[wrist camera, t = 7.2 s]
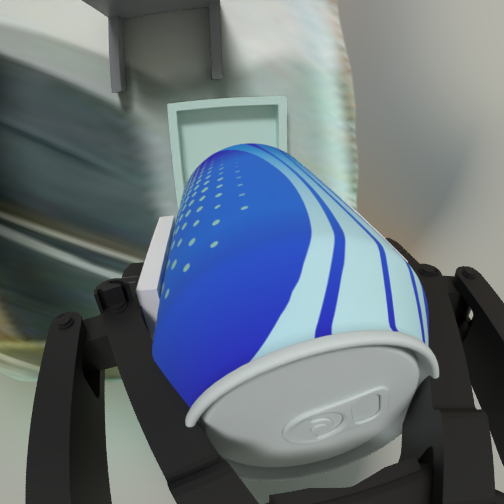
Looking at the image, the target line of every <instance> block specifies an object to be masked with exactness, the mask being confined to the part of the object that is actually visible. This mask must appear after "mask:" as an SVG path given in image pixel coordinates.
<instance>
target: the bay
mask: <svg viewBox="0 0 504 504" xmlns="http://www.w3.org/2000/svg"><path fill="white" fill-rule="evenodd" d="M82 1H84V2H86V3H87V4H89V5H90V6H92V7H93V8H95V9H96V10H98V11H99V12H101V13H102V14H104V15H105V16H107V17H108V22H109V57H110V74H111V88H112V93H117V92H123V91H126V79H125V62H124V39H123V19H127V18H132V17H137V16H143V15H148V14H155V13H161V12H168V11H176V10H185V9H195V8H207V7H209V20H210V46H211V68H212V80H215V79H222V78H223V73H222V51H221V26H220V0H82Z"/></svg>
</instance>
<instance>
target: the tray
mask: <svg viewBox="0 0 504 504" xmlns="http://www.w3.org/2000/svg"><path fill="white" fill-rule="evenodd" d="M167 108H168V120H169V132H170V142H171V152H172V161H173V171H174V179H175V188H176V196H177V204H178V211H179V207H180V203H181V199H182V195H183V191H184V189H185V186H186V184H187V182H188V180H189V178H190V176H191V175H192V173H193V172H194V171H195V170H196V168H197V167H198V166H199V165H200V164H201V163H202V162H203V161H204V160H206V159H207V158H208V157H210V156H211V155H213V154H214V153H216V152H218V151H220V150H222V149H224V148H227V147H230V146H234V145H239V144H247V143H256V144H264V145H269V146H272V147H275V148H278V149H280V150H282V151H284V152H286V153H287V99H286V96H256V97H233V98H218V99H205V100H194V101H185V102H176V103H169V104H167Z"/></svg>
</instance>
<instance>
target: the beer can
mask: <svg viewBox="0 0 504 504" xmlns="http://www.w3.org/2000/svg"><path fill="white" fill-rule="evenodd" d="M152 356H153V359H154V361H155V362H156V364H157V365H158V367H159V368H160V369H161V371H162V372H163V374H164V375H165V376H166V378H167V379H168V380H169V382H170V383H171V384H172V386H173V387H174V388H175V390H176V391H177V392H178V393H179V395H180V396H181V397H182V398H183V400H184V401H185V402H186V403H187V405H188V406H189V408H190V410H189V412H188V413H187V416H186V419H185V424H186V426H187V427H194V426H195V424H196V422H197V421H198V422H199V424H200V426H201V427H202V429H203V430H204V432H205V433H206V435H207V437H208V438H209V440H210V441H211V443H212V444H213V446H214V447H215V449H216V450H217V452H218V453H219V455H220V456H221V457H222V458H223V459H225V460H226V461H227V462H228V463H229V464H230V466H231V467H232V468H233V470H234V471H235V472H236V474H237V475H238V476H239V478H240V479H245V480H255V481H280V480H290V479H298V478H304V477H309V476H314V475H318V474H322V473H325V472H329V471H332V470H335V469H338V468H341V467H343V466H346V465H348V464H351V463H353V462H356V461H358V460H360V459H362V458H364V457H366V456H368V455H370V454H372V453H374V452H375V451H377V450H379V449H380V448H382V447H384V446H385V445H386V444H388V443H390V442H391V441H392V440H394V439H395V438H396V437H398V436H399V435H400V434H402V425H403V422H404V419H405V416H406V413H407V410H408V408H409V405H410V403H411V400H412V398H413V396H414V394H415V392H416V390H417V388H418V387H419V385H420V384H421V382H422V381H423V380H424V379H425V378H426V377H427V376H429V375H430V376H431V377H433V378H435V379H436V378H438V377H439V367H438V362H437V359H436V357H435V355H434V354H433V352H432V351H431V349H430V348H429V312H428V303H427V299H426V295H425V292H424V289H423V286H422V284H421V282H420V280H419V278H418V277H417V275H416V273H415V272H414V270H413V269H412V267H411V266H410V265H409V264H408V263H407V262H406V260H405V259H404V258H403V257H402V256H401V255H400V254H399V253H398V252H397V251H396V250H395V249H394V248H393V247H392V246H391V245H390V244H389V243H388V242H387V241H386V240H385V239H384V238H383V237H382V236H381V235H380V234H379V233H377V232H376V231H375V230H374V229H373V228H372V227H371V226H370V225H369V224H368V223H367V222H366V221H365V220H364V219H363V218H362V217H361V216H360V215H358V214H357V213H356V212H355V211H354V210H353V209H352V208H351V207H350V206H349V205H348V204H347V203H345V202H344V201H343V200H342V199H341V198H340V197H339V196H338V195H337V194H335V193H334V192H333V191H332V190H331V189H330V188H329V187H327V186H326V185H325V184H324V183H323V182H322V181H321V180H319V179H318V178H317V177H316V176H315V175H314V174H312V173H311V172H310V171H309V170H308V169H307V168H305V167H304V166H303V165H302V164H301V163H299V162H298V161H297V160H296V159H295V158H293V157H292V156H290V155H289V154H287V153H286V152H284V151H282V150H280V149H278V148H275V147H272V146H269V145H264V144H256V143H247V144H239V145H234V146H230V147H227V148H224V149H222V150H220V151H218V152H216V153H214V154H213V155H211V156H210V157H208V158H207V159H206V160H204V161H203V162H202V163H201V164H200V165H199V166H198V167H197V168H196V170H195V171H194V172H193V173H192V175H191V176H190V178H189V180H188V182H187V184H186V186H185V189H184V191H183V195H182V199H181V203H180V207H179V211H178V216H177V220H176V224H175V229H174V233H173V238H172V242H171V247H170V251H169V256H168V261H167V266H166V271H165V276H164V281H163V286H162V291H161V297H160V302H159V308H158V313H157V319H156V325H155V331H154V337H153V344H152Z"/></svg>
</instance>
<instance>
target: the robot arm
mask: <svg viewBox="0 0 504 504" xmlns="http://www.w3.org/2000/svg"><path fill="white" fill-rule="evenodd" d="M345 203H347V202H345ZM347 204H348V203H347ZM348 205H349V204H348ZM349 206H350V205H349ZM350 207H351V206H350ZM351 208H352V207H351ZM352 209H353V208H352ZM353 210H354V209H353ZM354 211H355V210H354ZM355 212H356V213H357V214H358V215H360V214H359V213H358V212H357V211H355ZM360 216H361V215H360ZM361 217H362V216H361ZM362 218H363V217H362ZM363 219H364V218H363ZM364 220H365V219H364ZM365 221H366V220H365ZM366 222H367V221H366ZM367 223H368V222H367ZM368 224H369V223H368ZM369 225H370V224H369ZM370 226H371V225H370ZM371 227H372V228H373V229H374V230H375V231H376V232H377V233H379V232H378V231H377V230H376V229H375V228H374V227H373V226H371ZM174 229H175V218H174V216H166V217H160V218H159V221H158V224H157V227H156V230H155V232H154V235H153V238H152V241H151V244H150V247H149V250H148V253H147V256H146V259H145V262H142V263H132V264H130V265H129V266H128V267H127V268H126V269H125V271H124V273H123V276H122V278H115V279H110V280H107V281H105V282H102V283H101V284H100V285H98V286H97V287H96V289H95V290H94V296H95V299H96V301H97V304H98V307H99V310H100V312H101V314H100V315H98V316H96V317H92V318H89V319H85V320H83V319H82V317H81V315H80V314H79V313H77V312H66V313H63V314H61V315H59V316H57V317H56V318H55V319H54V320H53V321H52V323H51V325H50V329H49V333H48V337H47V341H46V345H45V349H44V353H43V358H42V362H41V367H40V371H39V376H38V381H37V387H36V393H35V398H34V404H33V411H32V418H31V426H30V434H29V443H28V454H27V469H26V504H112V502H111V494H110V487H109V486H110V485H109V476H108V465H107V452H106V435H105V407H104V406H105V401H104V382H105V369H108V368H111V367H115V366H118V369H119V372H120V375H121V378H122V380H123V383H124V386H125V389H126V391H127V394H128V396H129V399H130V401H131V404H132V406H133V409H134V411H135V414H136V416H137V419H138V421H139V423H140V425H141V428H142V430H143V432H144V434H145V437H146V439H147V441H148V443H149V446H150V448H151V450H152V452H153V454H154V456H155V458H156V460H157V462H158V464H159V466H160V468H161V470H162V472H163V474H164V476H165V478H166V480H167V483H168V487H169V490H170V491H171V494H172V495H173V497H174V499H175V501H176V503H177V504H259V503H258V502H257V501H256V499H255V498H254V496H253V495H252V494H251V493H250V491H249V490H248V489H247V487H246V486H245V485H244V483H243V482H242V481H241V479H240V478H239V476H238V475H237V474H236V472H235V471H234V470H233V468H232V467H231V466H230V464H229V463H228V462H227V461H226V460H225V459H223V458H222V457H221V456H220V455H219V453H218V452H217V450H216V449H215V447H214V446H213V444H212V443H211V441H210V440H209V438H208V437H207V435H206V433H205V432H204V430H203V429H202V427H201V426H200V424H199V422H198V421H197V422H196V424H195V426H194V427H187V426H186V424H185V419H186V416H187V413H188V412H189V410H190V408H189V406H188V405H187V403H186V402H185V401H184V400H183V398H182V397H181V396H180V395H179V393H178V392H177V391H176V390H175V388H174V387H173V386H172V384H171V383H170V382H169V380H168V379H167V378H166V376H165V375H164V374H163V372H162V371H161V369H160V368H159V367H158V365H157V364H156V362H155V361H154V359H153V356H152V344H153V337H154V331H155V325H156V319H157V313H158V308H159V302H160V297H161V291H162V286H163V281H164V276H165V271H166V266H167V261H168V256H169V251H170V247H171V242H172V238H173V233H174ZM379 234H380V233H379ZM380 235H381V234H380ZM381 236H382V235H381ZM382 237H383V236H382ZM383 238H384V237H383ZM384 239H385V240H386V241H387V242H388V243H389V244H390V245H391V246H392V247H393V248H394V249H395V250H396V251H397V252H398V253H399V254H400V255H401V256H402V257H403V258H404V259H405V260H406V262H407V263H408V264H409V265H410V266H411V267H412V269H413V270H414V272H415V273H416V275H417V277H418V278H419V280H420V282H421V284H422V286H423V289H424V292H425V295H426V299H427V303H428V312H429V348H430V349H431V351H432V352H433V354H434V355H435V357H436V359H437V362H438V367H439V377H438V378H436V379H435V378H433V377H431V376H430V375H429V376H427V377H426V378H425V379H424V380H423V381H422V382H421V384H420V385H419V387H418V388H417V390H416V392H415V394H414V396H413V398H412V400H411V403H410V405H409V408H408V410H407V413H406V416H405V419H404V422H403V425H402V448H401V456H400V459H399V462H398V463H396V464H393V465H391V466H388V467H385V468H383V469H381V470H380V471H378V472H377V473H375V474H373V475H372V476H370V477H368V478H367V479H365V480H363V481H361V482H360V483H358V484H356V485H354V486H352V487H348V488H308V489H303V490H297V491H292V492H286V493H280V494H274V495H269V503H266V504H504V493H502V492H500V491H498V490H496V489H495V481H494V465H493V454H492V445H491V436H490V432H491V434H492V437H493V440H494V443H495V445H496V448H497V451H498V454H499V456H500V459H501V461H502V464H503V465H504V303H503V302H502V300H501V299H500V298H499V296H498V295H497V294H496V292H495V291H494V290H493V289H492V287H491V286H490V285H489V284H488V282H487V281H486V280H485V279H484V278H483V277H482V275H481V274H480V273H479V272H478V271H476V270H475V269H473V268H471V267H465V266H462V267H459V268H457V269H456V273H455V276H442V274H441V272H440V271H439V270H438V269H437V268H436V267H434V266H431V265H428V264H419V263H418V262H417V261H416V260H415V259H414V258H413V257H412V256H411V255H410V254H409V253H407V251H406V250H405V249H403V247H402V246H401V245H400V244H399V243H397V242H396V241H394V240H392V239H390V238H384ZM471 309H472V311H473V318H472V320H471V319H470V318H469V313H470V311H471ZM471 385H472V387H473V390H474V392H475V394H476V397H477V399H478V401H479V404H480V406H481V410H477V409H476V408H475V405H474V399H473V393H472V387H471Z"/></svg>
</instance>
